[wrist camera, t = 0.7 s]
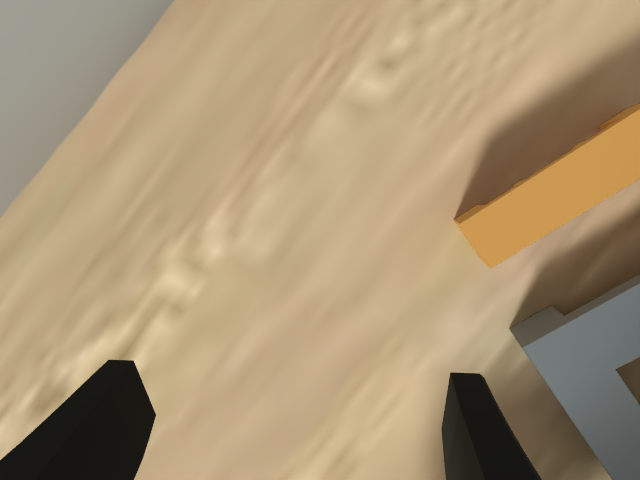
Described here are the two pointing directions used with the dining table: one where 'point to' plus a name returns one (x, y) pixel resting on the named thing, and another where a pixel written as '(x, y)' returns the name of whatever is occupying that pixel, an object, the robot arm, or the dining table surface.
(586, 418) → the grey frame
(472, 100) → the dining table surface
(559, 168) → the notched orange plank
